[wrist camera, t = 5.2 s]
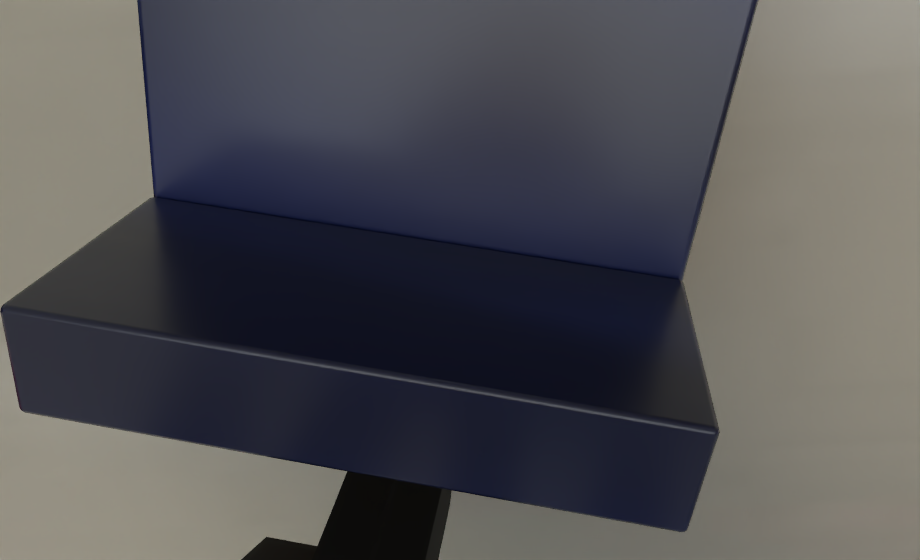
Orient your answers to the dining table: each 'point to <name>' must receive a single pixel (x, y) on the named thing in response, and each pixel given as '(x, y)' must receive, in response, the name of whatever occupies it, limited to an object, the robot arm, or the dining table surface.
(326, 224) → the blue toy chair
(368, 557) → the robot arm
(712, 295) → the dining table surface
